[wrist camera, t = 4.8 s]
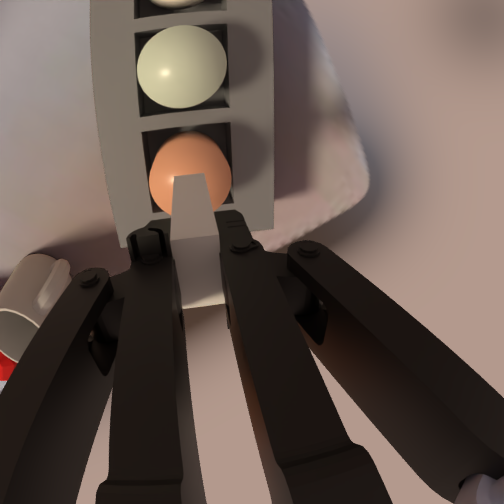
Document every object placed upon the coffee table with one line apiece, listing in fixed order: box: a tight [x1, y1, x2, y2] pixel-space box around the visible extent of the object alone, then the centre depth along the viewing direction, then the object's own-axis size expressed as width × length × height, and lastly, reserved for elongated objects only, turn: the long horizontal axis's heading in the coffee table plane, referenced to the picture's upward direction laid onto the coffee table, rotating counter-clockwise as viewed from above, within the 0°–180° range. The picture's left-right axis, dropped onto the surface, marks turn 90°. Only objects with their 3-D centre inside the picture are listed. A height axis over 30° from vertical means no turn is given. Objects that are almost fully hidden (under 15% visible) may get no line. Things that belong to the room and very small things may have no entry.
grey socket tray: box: [90, 0, 274, 248], centre depth 19 cm, size 12×25×5 cm, turn 1°
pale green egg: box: [137, 25, 227, 108], centre depth 16 cm, size 5×5×4 cm
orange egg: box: [149, 131, 231, 215], centre depth 20 cm, size 5×5×4 cm
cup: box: [0, 254, 72, 363], centre depth 24 cm, size 7×10×9 cm
